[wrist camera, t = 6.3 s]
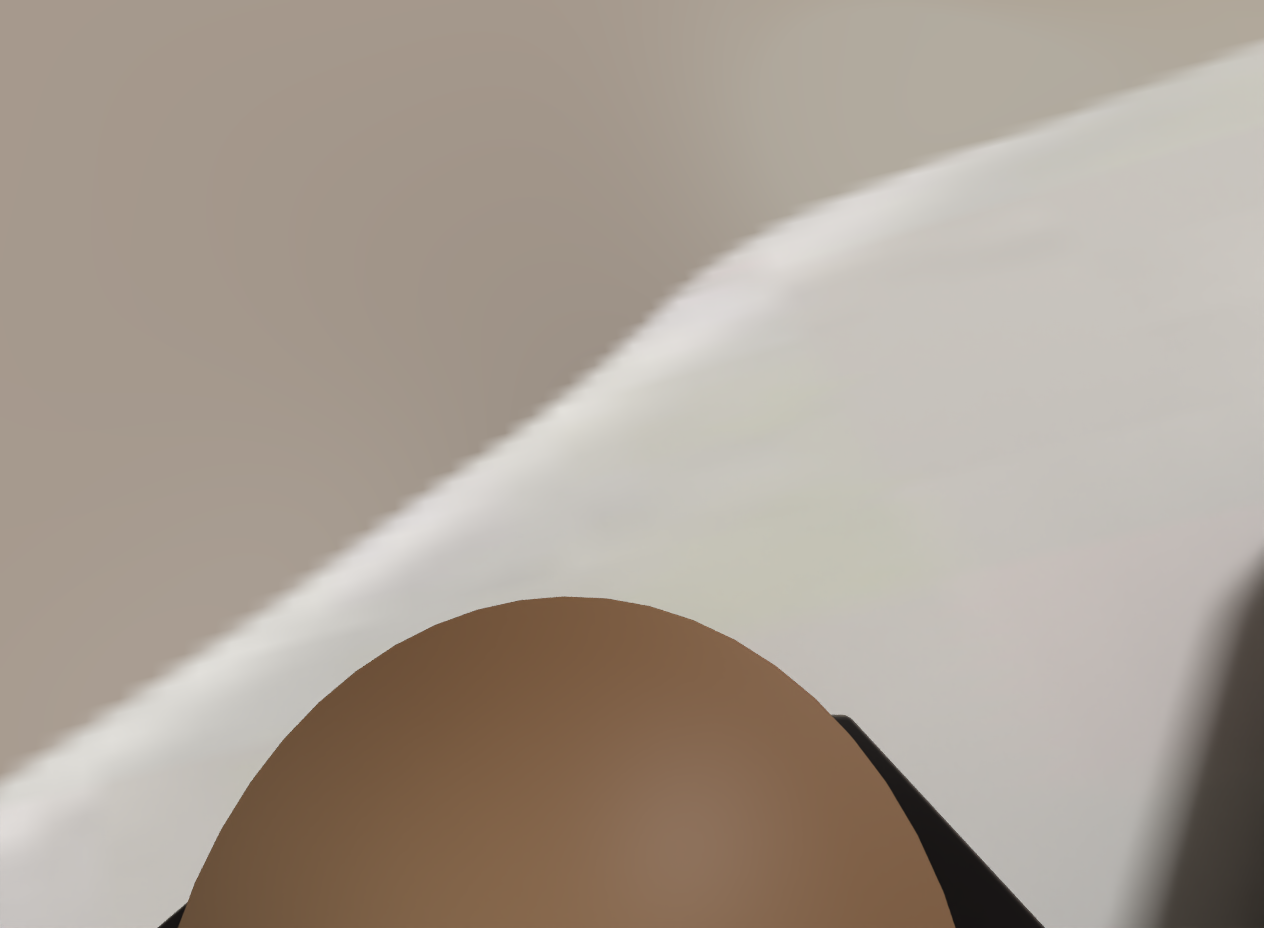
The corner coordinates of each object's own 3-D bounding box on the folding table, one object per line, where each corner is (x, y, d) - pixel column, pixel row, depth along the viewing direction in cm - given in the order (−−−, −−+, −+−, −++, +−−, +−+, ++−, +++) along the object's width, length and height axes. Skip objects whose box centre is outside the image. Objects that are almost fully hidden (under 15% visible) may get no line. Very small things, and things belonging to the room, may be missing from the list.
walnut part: (701, 988, 12) (740, 2111, 2) (510, 852, 14) (-31, 1190, 3) (799, 765, 14) (1103, 843, 4) (617, 658, 15) (456, 486, 5)
